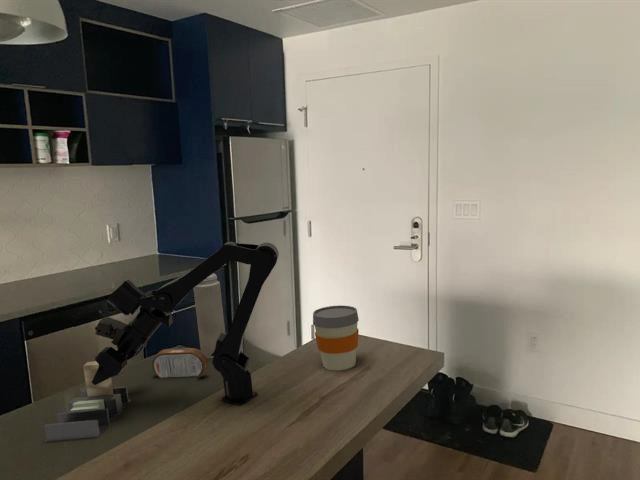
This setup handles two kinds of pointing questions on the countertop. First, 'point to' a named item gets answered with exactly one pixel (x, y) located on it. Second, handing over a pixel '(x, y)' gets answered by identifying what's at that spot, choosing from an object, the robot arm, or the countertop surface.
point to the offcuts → (88, 405)
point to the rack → (88, 417)
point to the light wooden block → (100, 388)
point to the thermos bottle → (209, 313)
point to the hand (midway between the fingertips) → (101, 375)
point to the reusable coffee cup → (336, 336)
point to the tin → (179, 363)
